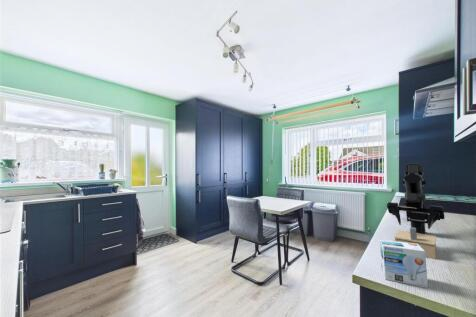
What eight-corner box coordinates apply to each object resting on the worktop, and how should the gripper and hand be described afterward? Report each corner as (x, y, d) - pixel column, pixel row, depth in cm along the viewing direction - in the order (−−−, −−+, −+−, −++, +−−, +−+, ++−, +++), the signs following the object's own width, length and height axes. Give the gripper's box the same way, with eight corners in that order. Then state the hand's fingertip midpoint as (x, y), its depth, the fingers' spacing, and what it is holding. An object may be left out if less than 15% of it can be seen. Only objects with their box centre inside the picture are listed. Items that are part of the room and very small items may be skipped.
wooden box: (400, 242, 92) (399, 232, 92) (436, 249, 83) (435, 238, 83) (396, 250, 83) (395, 238, 84) (435, 259, 75) (434, 246, 75)
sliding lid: (398, 231, 92) (397, 220, 92) (435, 237, 83) (434, 225, 84) (394, 238, 84) (393, 226, 84) (435, 245, 75) (434, 232, 75)
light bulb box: (384, 280, 62) (382, 245, 63) (381, 270, 68) (378, 238, 69) (429, 288, 57) (426, 251, 58) (421, 277, 63) (418, 243, 64)
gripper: (386, 185, 94) (383, 212, 86) (441, 187, 81) (444, 218, 72) (390, 199, 99) (387, 226, 91) (443, 203, 86) (446, 235, 77)
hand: (413, 226), depth 83 cm, fingers open, 9 cm apart
